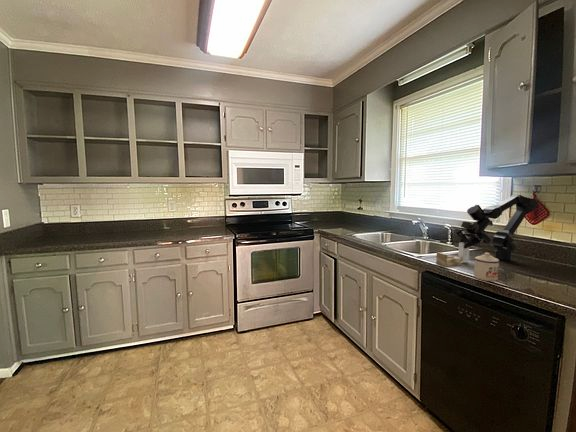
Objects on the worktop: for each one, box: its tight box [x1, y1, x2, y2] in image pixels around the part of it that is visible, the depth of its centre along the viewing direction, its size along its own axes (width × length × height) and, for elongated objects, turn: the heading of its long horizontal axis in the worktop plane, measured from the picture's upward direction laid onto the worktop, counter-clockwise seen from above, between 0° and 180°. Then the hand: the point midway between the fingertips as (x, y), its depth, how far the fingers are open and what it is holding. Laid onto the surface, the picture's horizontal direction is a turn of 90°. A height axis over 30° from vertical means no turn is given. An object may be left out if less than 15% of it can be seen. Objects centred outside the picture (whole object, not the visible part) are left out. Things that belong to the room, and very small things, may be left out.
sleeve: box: [435, 251, 462, 267], centre depth 150 cm, size 10×6×6 cm, turn 103°
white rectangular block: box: [457, 241, 471, 263], centre depth 151 cm, size 4×3×10 cm
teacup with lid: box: [473, 252, 500, 282], centre depth 126 cm, size 12×9×12 cm
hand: (462, 247), depth 151 cm, fingers closed on white rectangular block, 3 cm apart
